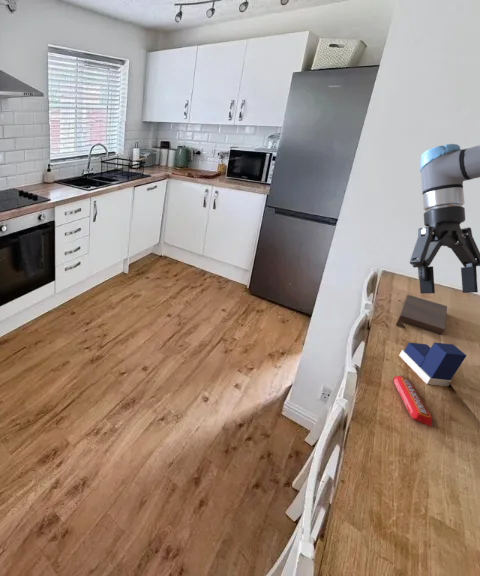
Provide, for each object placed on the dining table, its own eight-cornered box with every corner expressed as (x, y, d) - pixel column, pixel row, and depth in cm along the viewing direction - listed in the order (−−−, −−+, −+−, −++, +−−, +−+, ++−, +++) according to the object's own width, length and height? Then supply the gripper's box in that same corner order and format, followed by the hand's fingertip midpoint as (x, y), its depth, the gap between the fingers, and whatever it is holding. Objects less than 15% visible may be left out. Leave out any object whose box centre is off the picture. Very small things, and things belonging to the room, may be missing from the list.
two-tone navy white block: (398, 355, 105) (414, 326, 101) (418, 357, 105) (435, 328, 100) (426, 384, 95) (445, 353, 90) (448, 386, 94) (468, 355, 90)
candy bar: (431, 430, 81) (437, 420, 80) (411, 425, 82) (417, 415, 81) (406, 383, 95) (411, 374, 93) (389, 379, 96) (394, 371, 94)
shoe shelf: (402, 304, 133) (407, 294, 131) (441, 316, 127) (447, 306, 125) (395, 325, 120) (400, 315, 118) (438, 340, 113) (444, 329, 111)
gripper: (463, 214, 99) (469, 292, 98) (388, 211, 94) (393, 294, 93) (499, 206, 92) (506, 291, 90) (419, 203, 86) (425, 293, 85)
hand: (449, 293), depth 92 cm, fingers open, 13 cm apart
